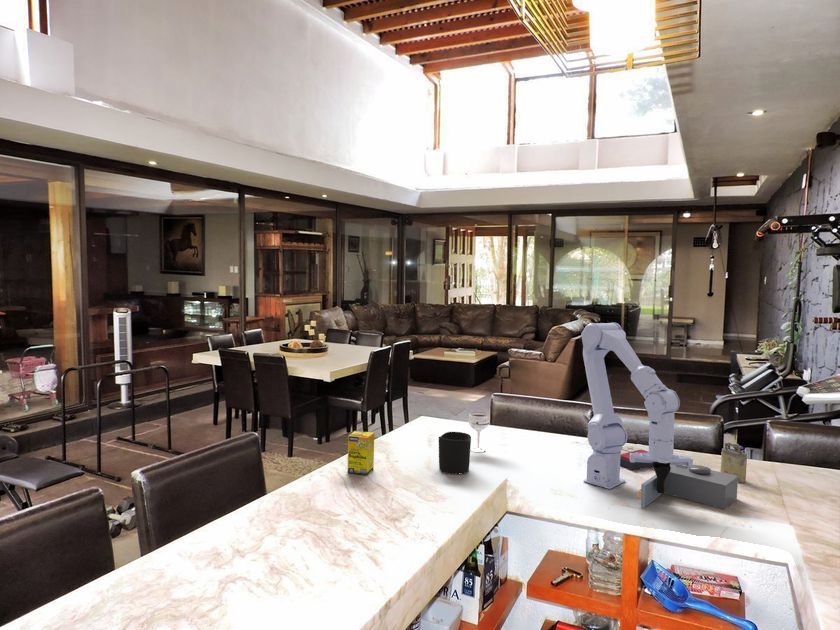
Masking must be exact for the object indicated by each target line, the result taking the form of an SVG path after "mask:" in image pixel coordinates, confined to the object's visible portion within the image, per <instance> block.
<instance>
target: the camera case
mask: <svg viewBox="0 0 840 630" xmlns="http://www.w3.org/2000/svg"><path fill="white" fill-rule="evenodd" d="M670 467H671V470H670V472H669V473H668V475H667V477H666V479H665V481H664V494H666V495H668V496H673V497H678V498H680V499H685V500H688V501H691V502H697V503H700V504H703V505H707V506H710V507H714V508H718V509H721V508H722V509H721V510H726V509H727V508H728V507H729V506H730V505H732V504H733V503H734V502H735V501H736V500H737V499H738V487H739V486H738V485H739V484H738V483H739V482H738V476H736V475H731V474H727V473H722V472H720V471H718V470H717V471H716V470H713V469H711V468H710V467H707V466H705V465H699V464H693V467H689V466H686V465H672V464H670ZM725 508H726V509H725Z"/></svg>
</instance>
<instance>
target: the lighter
mask: <svg viewBox="0 0 840 630" xmlns="http://www.w3.org/2000/svg"><path fill="white" fill-rule="evenodd" d="M723 445H724V447H723V448H721V453H720V454H721V455H720V456H721V457H720V471H719V472H722V473H727V474H731V475H736V476H738V483H744V484H745V483H746V482H747V464H748V463H747V462H748V461H747V460H748V456H747V453H746V452H744V451H742V450H743V449H744V446H742V445H739V443H731V442H724V444H723ZM731 447H732V448H731Z"/></svg>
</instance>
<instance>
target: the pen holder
mask: <svg viewBox="0 0 840 630" xmlns="http://www.w3.org/2000/svg"><path fill="white" fill-rule="evenodd" d="M471 443H472V436H471V434H470V433H466V432H461V431H446V432H445V433H443V434H442V435H440V436H438V467H439V471H441V472H442V473H444V472H445V474H448V473H450V475H460V474H459V473H463V474H465V473H464V472H466V473H467V472H468V471H469V469H470V463H471V462H470V460H471Z"/></svg>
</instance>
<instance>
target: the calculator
mask: <svg viewBox="0 0 840 630" xmlns="http://www.w3.org/2000/svg"><path fill="white" fill-rule="evenodd" d="M630 453H649V446H646V445H643V444H639V443H637V444H632V445H624V446H622V450H621V456H620V468H621V467H622V468H624V469H628V470H630V471H637V470H643V469H648V468H653V466H652V463H644V462H635V463H633V462H630Z"/></svg>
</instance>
